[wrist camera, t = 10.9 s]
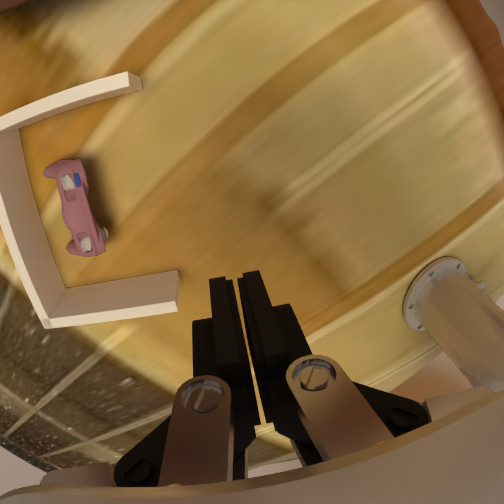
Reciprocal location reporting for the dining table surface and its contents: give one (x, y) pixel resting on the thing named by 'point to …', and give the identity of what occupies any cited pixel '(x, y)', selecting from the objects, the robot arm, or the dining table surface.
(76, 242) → the video game controller
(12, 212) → the bin
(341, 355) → the dining table surface
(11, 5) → the pottery vessel
